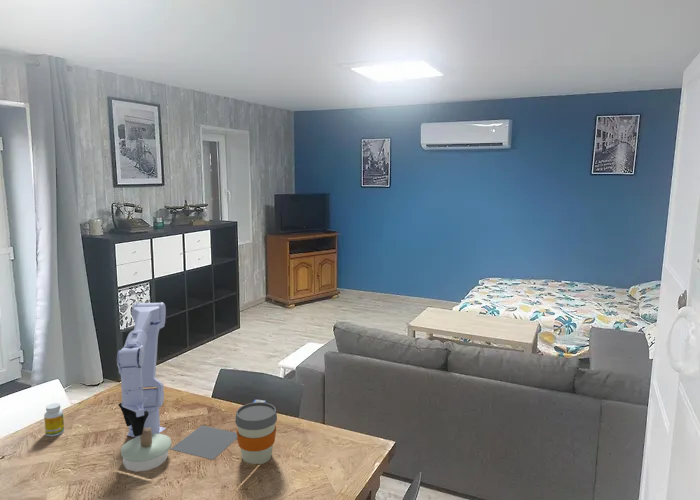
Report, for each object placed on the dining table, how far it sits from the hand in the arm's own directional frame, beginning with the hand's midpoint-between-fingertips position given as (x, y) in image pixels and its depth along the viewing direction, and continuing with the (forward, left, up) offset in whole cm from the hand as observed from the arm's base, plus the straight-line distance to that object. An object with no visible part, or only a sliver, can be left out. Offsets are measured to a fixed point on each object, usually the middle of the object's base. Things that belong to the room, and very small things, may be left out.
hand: (134, 430), depth 141 cm
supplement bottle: (-37, +3, -10) cm, 39 cm away
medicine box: (+24, +30, -10) cm, 40 cm away
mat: (+14, +16, -10) cm, 23 cm away
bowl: (+3, +1, -10) cm, 10 cm away
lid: (+3, +1, -6) cm, 7 cm away
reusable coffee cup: (+33, +15, -10) cm, 38 cm away
